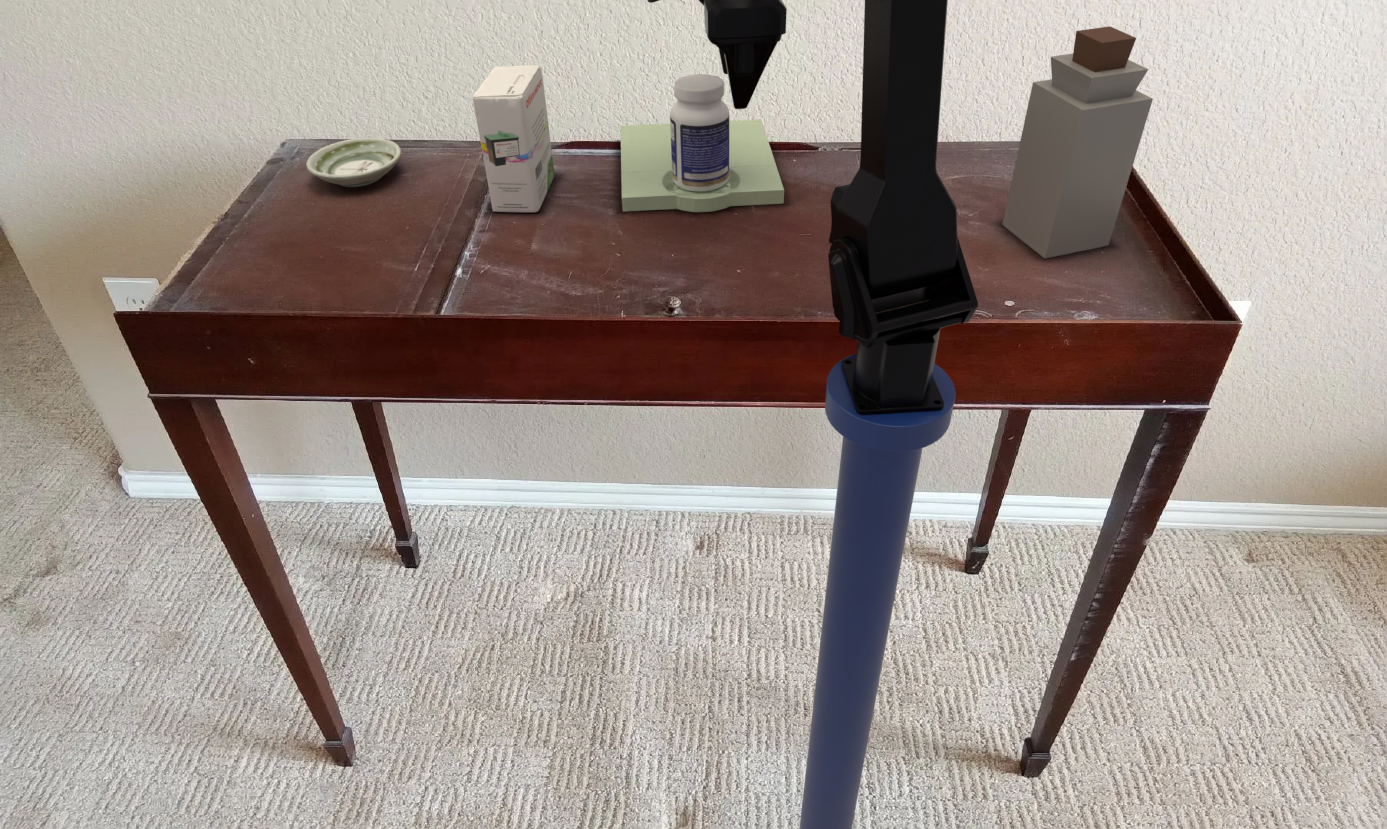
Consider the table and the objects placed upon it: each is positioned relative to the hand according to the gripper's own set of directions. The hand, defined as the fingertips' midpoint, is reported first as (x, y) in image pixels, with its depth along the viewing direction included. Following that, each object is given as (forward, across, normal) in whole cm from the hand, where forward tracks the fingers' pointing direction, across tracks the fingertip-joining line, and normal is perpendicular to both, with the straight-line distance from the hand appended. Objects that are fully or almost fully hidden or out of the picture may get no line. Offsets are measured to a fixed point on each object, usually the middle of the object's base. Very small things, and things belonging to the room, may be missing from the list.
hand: (734, 90), depth 84 cm
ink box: (+12, -5, -21) cm, 25 cm away
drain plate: (+11, -9, -3) cm, 15 cm away
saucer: (+11, -11, -39) cm, 42 cm away
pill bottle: (+10, -3, -3) cm, 11 cm away
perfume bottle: (+12, +9, +29) cm, 33 cm away
